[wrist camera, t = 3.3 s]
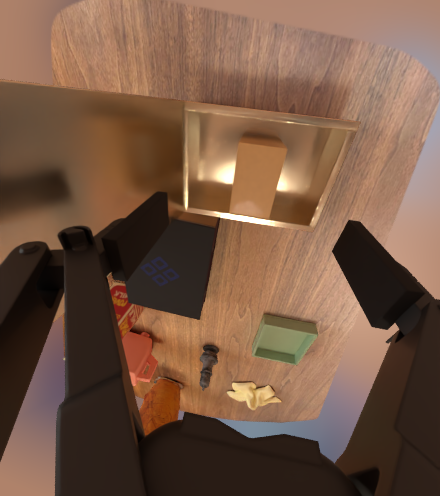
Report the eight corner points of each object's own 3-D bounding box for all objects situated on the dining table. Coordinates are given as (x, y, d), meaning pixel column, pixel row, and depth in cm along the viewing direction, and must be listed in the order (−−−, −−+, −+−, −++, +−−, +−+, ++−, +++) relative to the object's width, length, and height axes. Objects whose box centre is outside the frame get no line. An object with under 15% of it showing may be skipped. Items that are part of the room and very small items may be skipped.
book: (221, 211, 37) (215, 228, 32) (205, 298, 52) (199, 320, 46) (132, 191, 38) (111, 205, 32) (141, 283, 52) (128, 303, 47)
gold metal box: (339, 119, 27) (361, 121, 21) (304, 212, 35) (313, 232, 29) (195, 101, 28) (180, 100, 22) (193, 195, 36) (182, 211, 30)
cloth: (225, 395, 86) (223, 413, 81) (229, 376, 75) (227, 395, 70) (277, 406, 84) (279, 425, 79) (289, 388, 73) (291, 409, 68)
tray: (315, 323, 51) (318, 334, 48) (295, 355, 60) (297, 365, 58) (263, 313, 52) (264, 324, 49) (252, 346, 61) (251, 356, 59)
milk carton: (143, 287, 53) (92, 365, 37) (146, 308, 58) (103, 385, 42) (110, 280, 54) (46, 354, 37) (116, 302, 59) (62, 375, 43)
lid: (-163, 60, 6) (-253, 48, 7) (43, 331, 14) (-16, 304, 15) (182, 100, 22) (137, 94, 23) (183, 213, 30) (150, 205, 31)
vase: (201, 385, 84) (178, 497, 60) (181, 396, 95) (155, 494, 71) (156, 365, 80) (111, 478, 56) (140, 379, 91) (98, 478, 67)
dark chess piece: (213, 343, 64) (205, 385, 54) (223, 352, 66) (217, 394, 56) (198, 346, 66) (188, 387, 56) (208, 355, 68) (200, 396, 59)
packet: (279, 137, 28) (287, 148, 20) (266, 192, 33) (268, 219, 25) (243, 132, 28) (238, 142, 20) (235, 187, 33) (228, 213, 25)
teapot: (105, 337, 73) (77, 380, 61) (101, 317, 65) (68, 362, 54) (163, 353, 73) (146, 399, 61) (166, 335, 65) (146, 383, 54)
